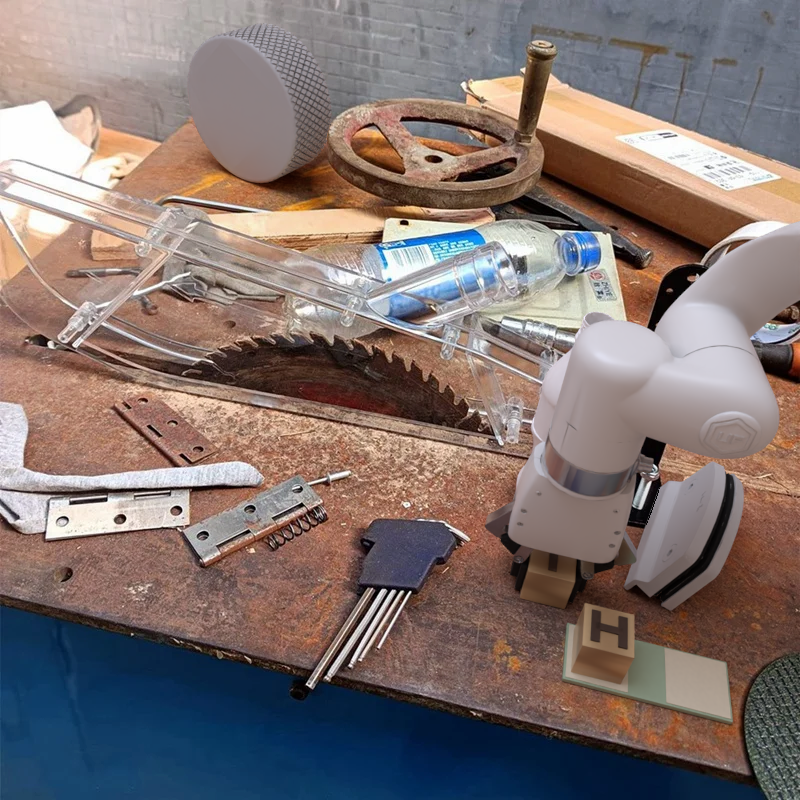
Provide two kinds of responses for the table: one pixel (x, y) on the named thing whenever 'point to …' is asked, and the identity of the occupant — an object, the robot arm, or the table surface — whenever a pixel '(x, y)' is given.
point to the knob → (259, 101)
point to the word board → (665, 680)
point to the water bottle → (555, 388)
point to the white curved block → (688, 535)
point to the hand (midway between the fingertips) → (544, 583)
